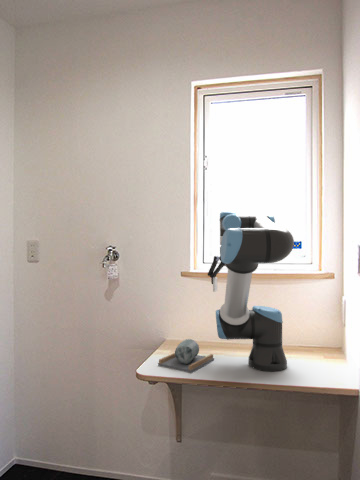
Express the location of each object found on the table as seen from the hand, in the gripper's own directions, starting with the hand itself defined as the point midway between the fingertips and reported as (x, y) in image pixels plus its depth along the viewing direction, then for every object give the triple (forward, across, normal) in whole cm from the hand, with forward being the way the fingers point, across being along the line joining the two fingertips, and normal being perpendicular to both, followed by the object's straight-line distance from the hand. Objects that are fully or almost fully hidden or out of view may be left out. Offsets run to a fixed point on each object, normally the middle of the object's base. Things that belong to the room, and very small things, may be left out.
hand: (228, 292), depth 174 cm
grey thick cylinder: (+26, +7, +25) cm, 37 cm away
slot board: (+27, +7, +25) cm, 37 cm away
